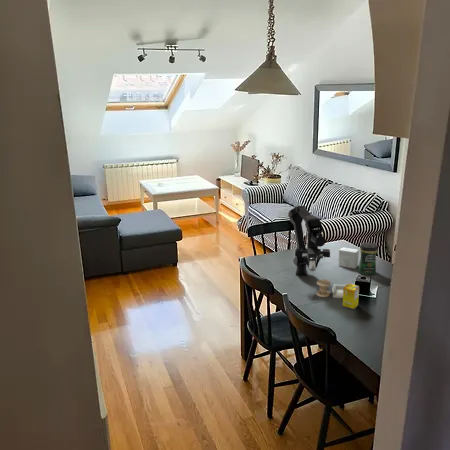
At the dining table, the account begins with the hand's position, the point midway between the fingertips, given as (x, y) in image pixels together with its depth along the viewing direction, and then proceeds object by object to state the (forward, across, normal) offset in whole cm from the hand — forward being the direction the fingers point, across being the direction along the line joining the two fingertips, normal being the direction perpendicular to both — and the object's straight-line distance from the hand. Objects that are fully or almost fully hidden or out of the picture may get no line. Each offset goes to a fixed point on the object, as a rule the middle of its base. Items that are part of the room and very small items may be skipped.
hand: (312, 267), depth 237 cm
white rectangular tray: (+10, +17, -10) cm, 22 cm away
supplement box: (+11, +19, -24) cm, 32 cm away
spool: (+10, +6, -12) cm, 17 cm away
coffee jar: (+11, +32, +19) cm, 39 cm away
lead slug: (+2, 0, 0) cm, 2 cm away
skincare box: (+11, +22, +29) cm, 38 cm away
